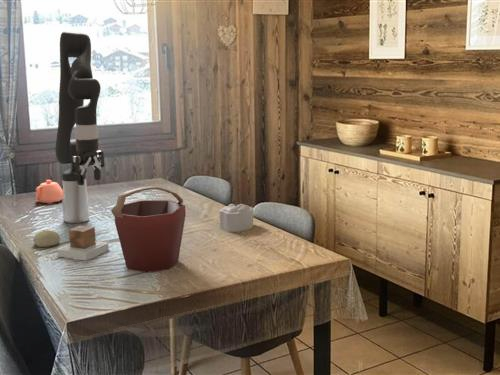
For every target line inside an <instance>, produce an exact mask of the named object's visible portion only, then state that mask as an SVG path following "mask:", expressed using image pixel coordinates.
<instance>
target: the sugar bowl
mask: <svg viewBox="0 0 500 375" xmlns="http://www.w3.org/2000/svg"><path fill="white" fill-rule="evenodd" d="M35 193H36V194H35V200H36V201H37V202H39V203H45V204H48V205H50V204H53V203H58V202H61V201H62V198H64V193H63V188H62V187H61V186H60V185H59V183H58V182H56V181H52V180H51V179H45V182H42V183H40V185H39V186H37V187H35Z"/></svg>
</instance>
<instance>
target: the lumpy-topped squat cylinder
mask: <svg viewBox="0 0 500 375" xmlns="http://www.w3.org/2000/svg"><path fill="white" fill-rule="evenodd" d="M218 213H219V229H221V230H223V231H225V232H228V233H236V232H238V233H239V232H242V231H248V230H251V229H252V228H253V227H254V209H253V207H252V206H249V205H248V204H247V205H246V204H244V203H240V204H237V205H236V204H234V203H230V204H229V205H227V206H224V207H222V208H220V209H219V212H218Z"/></svg>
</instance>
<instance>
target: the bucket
mask: <svg viewBox="0 0 500 375" xmlns="http://www.w3.org/2000/svg"><path fill="white" fill-rule="evenodd" d="M151 190H153V191H154V190H159V191H163V192H166V193H167V194H168V193H169V194H171V195H172V196H173V197H174V198H175V199H176V201H173V200H171V199H142V200H141V199H139V200H135V201H134V200H133V201H132V202H127V203H125V201H126V198H127V197H129V196H132V195H135V194H137V193H139V192H140V193H141V192H144V191H151ZM110 212H111V214H112V215H113V216H114V224H115V228H116V232H117V235H118V239H119V243H120V247H121V251H122V255H123V259H124V263H125V266H126V270H131V271H135V272H142V273H153V272H159V271H166V270H171V268H172V267H174V266H175V265H176V264H177V263H178V262H179V257H180V252H181V247H182V240H183V233H184V229H185V221H186V214H187V213H186V205H185V204H184V199H183V198H182V197H181V196H180V195H179V194H178V193H177V192H173V191H171V190H168V189H166V188H163V187H158V186H143V187H138V188H134V189H129V190H127V191H125V192H122V193H120V194H118V197H117V200H116V204H115V205H114V206H113V207H112V209H111V211H110Z"/></svg>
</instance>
